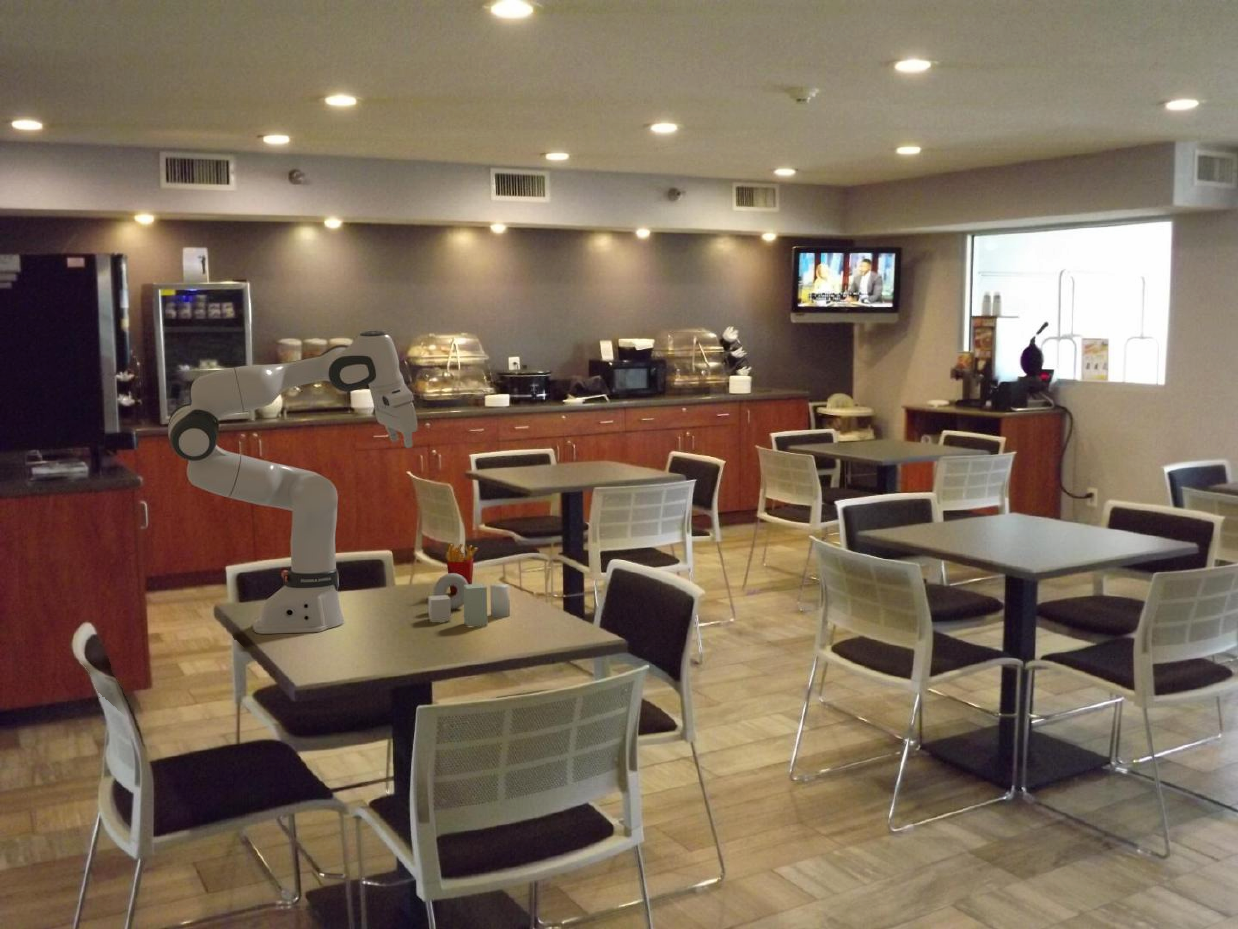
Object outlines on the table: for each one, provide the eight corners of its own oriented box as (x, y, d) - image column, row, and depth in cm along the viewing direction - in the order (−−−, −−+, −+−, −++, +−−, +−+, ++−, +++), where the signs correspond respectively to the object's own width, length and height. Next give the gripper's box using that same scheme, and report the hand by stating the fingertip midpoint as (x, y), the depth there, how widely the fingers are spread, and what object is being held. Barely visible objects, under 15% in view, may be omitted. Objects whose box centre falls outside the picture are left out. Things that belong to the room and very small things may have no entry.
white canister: (492, 618, 306) (492, 588, 305) (489, 614, 311) (488, 584, 310) (511, 616, 307) (511, 586, 307) (507, 612, 312) (507, 583, 311)
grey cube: (431, 623, 301) (431, 600, 301) (428, 619, 306) (428, 596, 305) (451, 621, 303) (450, 598, 302) (447, 617, 307) (447, 595, 307)
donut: (467, 606, 320) (466, 570, 319) (471, 608, 317) (471, 572, 316) (432, 610, 315) (431, 574, 314) (436, 613, 312) (435, 576, 311)
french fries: (452, 591, 340) (451, 540, 338) (480, 591, 339) (479, 540, 337) (444, 597, 331) (443, 545, 330) (473, 598, 330) (472, 545, 329)
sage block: (467, 627, 296) (467, 588, 295) (464, 623, 301) (463, 584, 300) (487, 626, 297) (486, 587, 296) (483, 621, 302) (482, 583, 301)
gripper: (363, 391, 304) (376, 441, 308) (392, 402, 287) (405, 454, 292) (385, 384, 307) (398, 433, 311) (415, 394, 290) (428, 446, 294)
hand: (402, 443), depth 301 cm, fingers open, 8 cm apart
